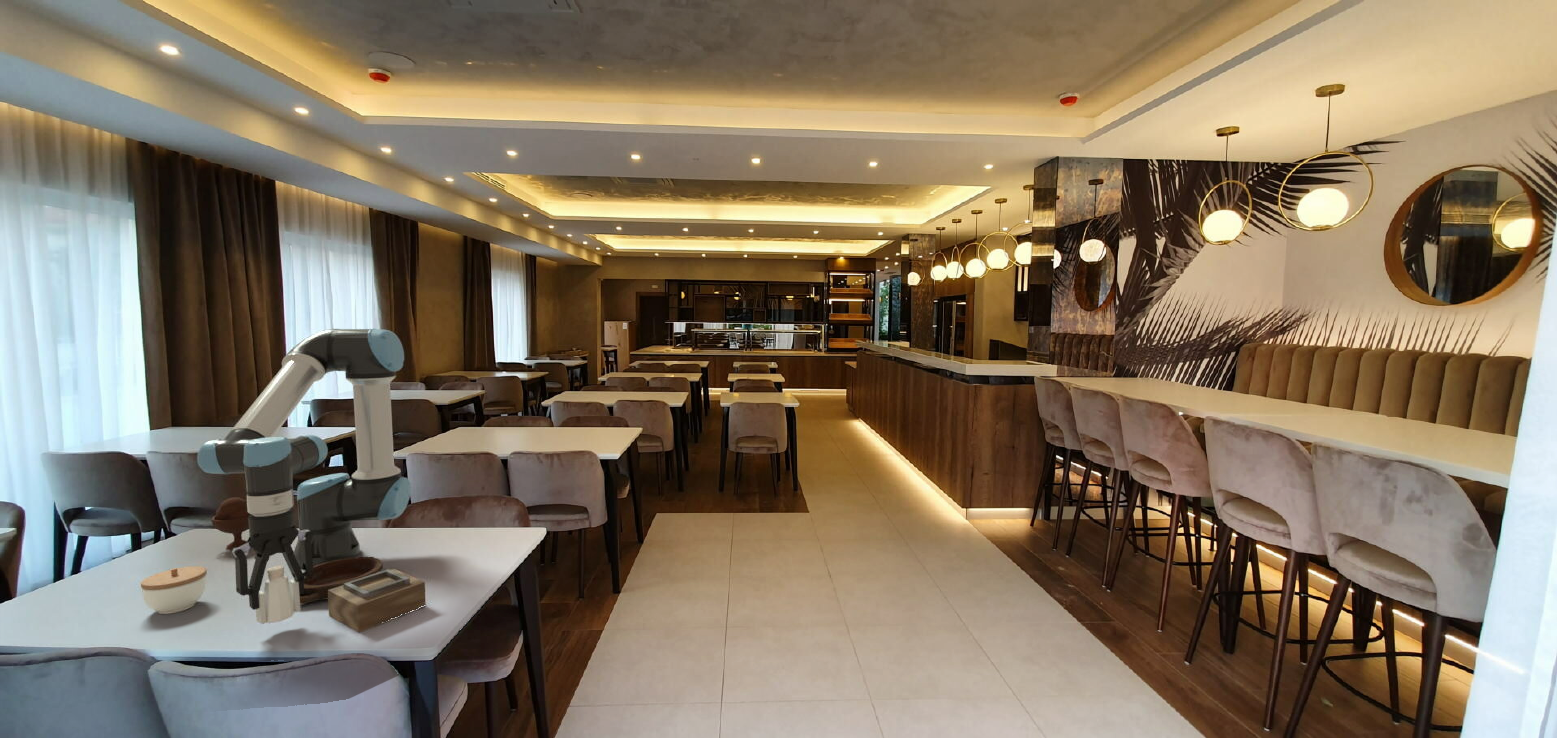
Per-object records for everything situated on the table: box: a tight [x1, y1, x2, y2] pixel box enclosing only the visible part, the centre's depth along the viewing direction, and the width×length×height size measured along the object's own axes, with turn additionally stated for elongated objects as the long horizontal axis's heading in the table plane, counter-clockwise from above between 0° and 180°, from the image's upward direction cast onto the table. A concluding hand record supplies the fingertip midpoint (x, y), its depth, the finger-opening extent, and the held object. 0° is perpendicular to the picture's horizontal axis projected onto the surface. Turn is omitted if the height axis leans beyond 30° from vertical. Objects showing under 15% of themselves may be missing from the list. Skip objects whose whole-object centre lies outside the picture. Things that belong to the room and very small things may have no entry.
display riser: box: [327, 568, 427, 633], centre depth 137 cm, size 14×14×7 cm
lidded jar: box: [140, 566, 208, 615], centre depth 138 cm, size 11×11×9 cm
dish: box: [299, 556, 384, 605], centre depth 149 cm, size 18×22×5 cm
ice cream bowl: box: [211, 496, 250, 551], centre depth 176 cm, size 11×11×15 cm
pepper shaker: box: [263, 565, 295, 624], centre depth 128 cm, size 5×5×11 cm
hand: (278, 615), depth 128 cm, fingers closed on pepper shaker, 5 cm apart
